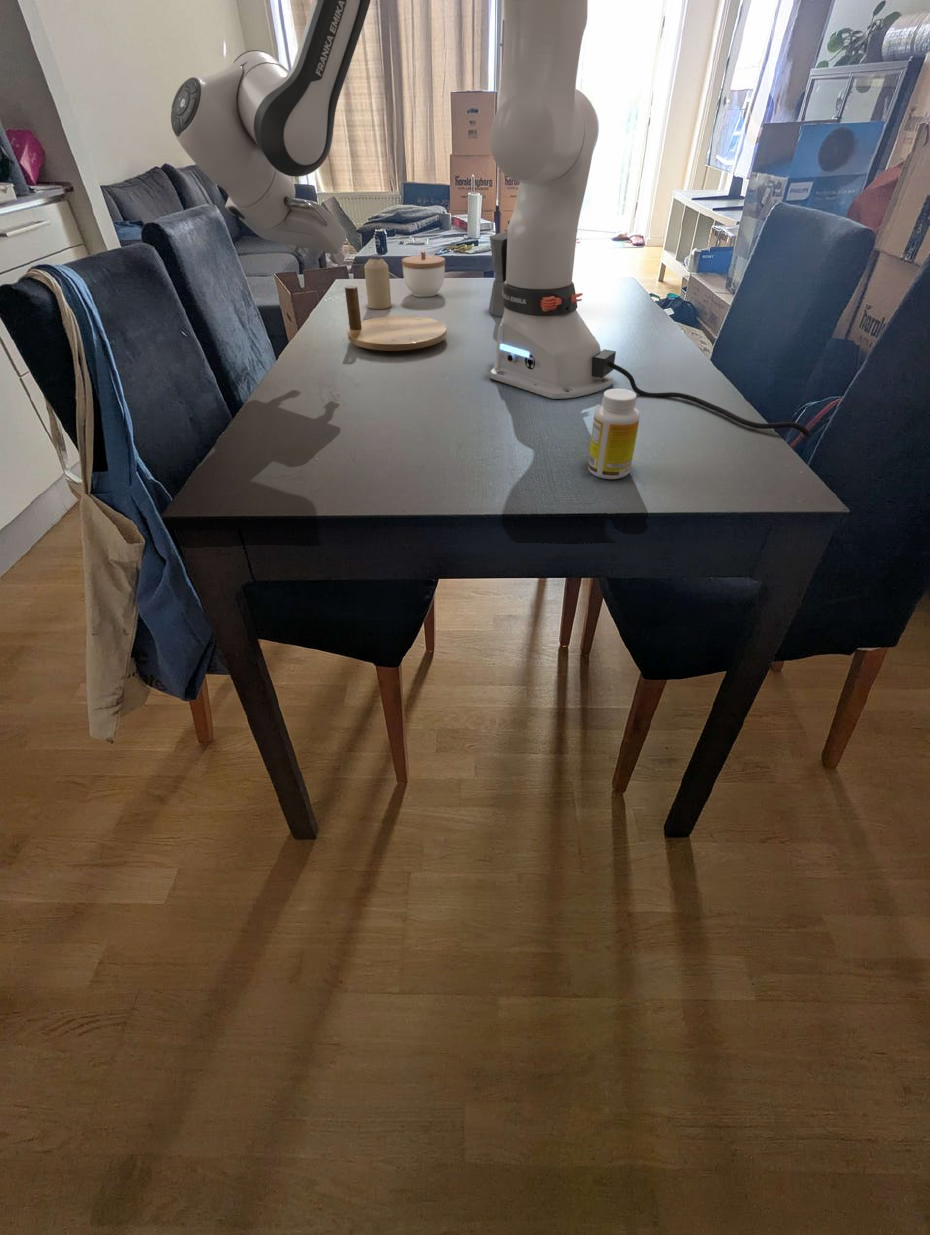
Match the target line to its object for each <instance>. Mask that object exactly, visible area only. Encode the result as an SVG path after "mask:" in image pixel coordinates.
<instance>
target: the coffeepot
mask: <svg viewBox="0 0 930 1235" xmlns="http://www.w3.org/2000/svg"><path fill="white" fill-rule="evenodd" d="M509 222H510V220H508V221H507V227H508V226H509ZM507 232H508V230H506V231H502V232H499V233H495V234H493V235H490V236H489V243H490V252H491V260H492V271H493V272H494V281H493V283H492V289H491V295H490V301H489V308H488V311H489V314H491V315H492V316H495V317H498V318H503V314H504V309H505V307H504V306H503V304H502V302H503V296H502V290H503V283H504V282H505V281H506V264H507Z"/></svg>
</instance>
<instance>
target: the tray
mask: <svg viewBox="0 0 930 1235" xmlns="http://www.w3.org/2000/svg"><path fill="white" fill-rule="evenodd" d="M358 290H359V289H358V286H357V285H346V286H344V293H345V300H346V309H347V318H348V326H349V327H348V329H347V338H348V341H349V342H350V343H351V344H352V345H355V346H357V347H359V348H364V349H368V350H374V351H375V350H376V351H389V352H390V351H391V352H392V351H394V352H396V351H410V350H417V349H424V348H428V347H430V346H433V345H437V344H439V343H441V342H442V341H444V340H445V339H446V338H447V336H448V327H447V326H446V324H445V323H443V322H442V321H440V320H437V319H435V318H430V317H424V316H417V315H389V316H388V315H387V316H379V317H374V318H369V319H365V320H362V318H361V309H360V299H359V298H360V297H359V291H358Z"/></svg>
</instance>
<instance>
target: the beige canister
mask: <svg viewBox="0 0 930 1235" xmlns="http://www.w3.org/2000/svg"><path fill="white" fill-rule="evenodd" d="M364 278H365V286H366V288H365V289H366V297H367V299H366V300H367V307H368V308H370V309H373V310H383V309H389V308H391V307H392V298H391V297H392V296H391V284H390V272H389V265H388V263H387V262H386V261H385V260H384V259H383V258H380V259H376V258H369V259H368V260H367V262H366V263H365V264H364Z"/></svg>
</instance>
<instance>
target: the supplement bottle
mask: <svg viewBox="0 0 930 1235" xmlns="http://www.w3.org/2000/svg"><path fill="white" fill-rule="evenodd" d="M637 395H638V394H637V393H636V392H635V391H634V390H629V389H626V388H610V389H606V390H605V391H604V392H603V396H602V401H601V405H599V406H597V408H595V410H594V414H593V421H592V428H591V437H590V445H589V454H588V460H587V469H588V471H589V473H591V474H592V475H593V476H594V477H598V478H599V479H604V480H618V479H622V478H624V477H626V476H627V475H629V473H630V472H631V468H632V463H633V458H634V452H635V446H636V440H637V435H638V430H639V425H640V424H639V423H640V418H641V413H640V411H639V409H638V408H637V407H636V404H637Z"/></svg>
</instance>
